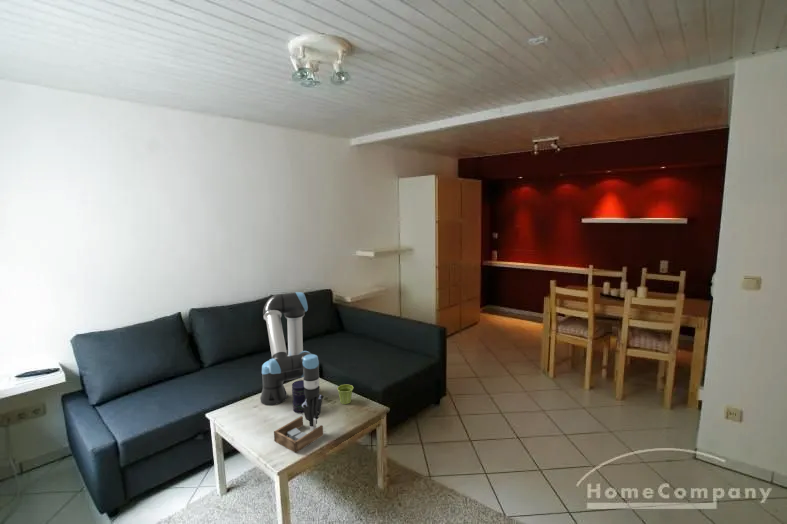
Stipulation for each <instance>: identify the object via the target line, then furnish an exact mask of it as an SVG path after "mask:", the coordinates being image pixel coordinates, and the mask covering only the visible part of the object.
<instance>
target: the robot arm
mask: <svg viewBox="0 0 787 524" xmlns="http://www.w3.org/2000/svg"><path fill="white" fill-rule="evenodd" d="M308 309H309V306H308V300H307V298H306V295H305V293H304V292H301V291H300V292H299V291H295V292H288V293H287V292H286V293H277V294H274V295H272V296H271V297H269V299H267V301H266V303H265V304H264V306H263V310H262V315H263V320H264V321H265V322H266V323H265V324H266V328H267V335H268V341H269V346H270V352H271V358H270V359H269V360H267V361H265V362H264V363H263V364H262V365H261V374H262V375H261V377H262V390H261V394H260V404H262V405H265V406H266V405H267V406H273V405H278V404H281V403H283V402H285V401H286V400H287V399H288V398H287V397H288V393H287V390H286V387H285V386H284V382H285V381H290V380H296V379H301V378H303V380H304V395H305V402H304V403H303V404H301V407H302V408H303V411H304V413H303V414H304V417H305V418H304V419H305V420H306V421H308V422H309V426H310V432H311V431H313V430H315V429H316V428H317V424H318V419H319V416H320V415H321V411H322V404H323V399H324V395H322V394H320V392H321V390H320V389H321V388H320V372H319V371H320V370H319V369H320V361H319V356H318V355H317V354H314V353H311V352H310V351H307V350H304V346H303V345H304V343H303V333H304V332H303V318H304V316H305V313H307V311H308ZM283 315H284V317H285V319H286V320H287V325H286V326H287V347H286V340H285V337H284V336H285V335H284V329H283V324H282V320H281V318H282V316H283ZM307 406H308V408H307Z"/></svg>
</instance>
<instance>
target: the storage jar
mask: <svg viewBox="0 0 787 524" xmlns="http://www.w3.org/2000/svg"><path fill="white" fill-rule="evenodd" d="M291 394H292V408H293V410H292V411H293V412H294V413H296V414H304V411H303V408H302V407H301V404H303V403H304V402H305V395H304V379H301V380H296V381H294V382H292V384H291ZM307 408H308V406H307Z"/></svg>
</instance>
